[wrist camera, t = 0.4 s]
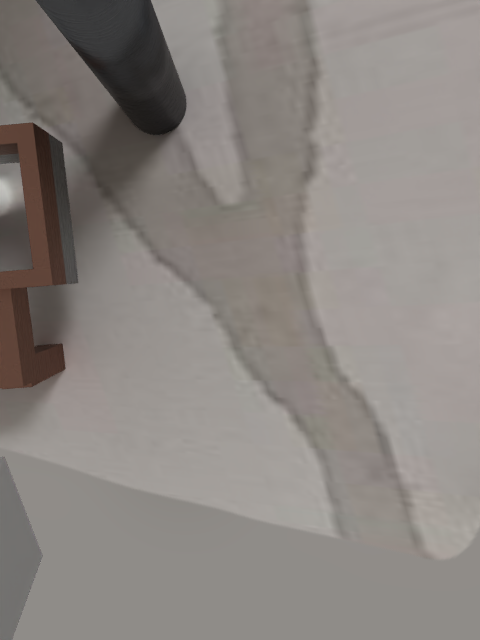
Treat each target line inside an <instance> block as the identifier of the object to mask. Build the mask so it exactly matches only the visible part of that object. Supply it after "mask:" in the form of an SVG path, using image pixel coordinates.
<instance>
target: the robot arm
mask: <svg viewBox="0 0 480 640" xmlns="http://www.w3.org/2000/svg"><path fill="white" fill-rule="evenodd" d="M42 556H43V555H42V552H41V550H40V547H39V545H38V542H37V539H36V537H35V534H34V532H33V529H32V526H31V524H30V521H29V519H28V516H27V513H26V511H25V508H24V506H23V503H22V501H21V498H20V495H19V493H18V490H17V488H16V485H15V482H14V480H13V477H12V475H11V472H10V470H9V467H8V464H7V462H6V459H5V457H0V640H12V639H13V636H14V633H15V630H16V628H17V625H18V622H19V619H20V617H21V614H22V611H23V608H24V606H25V602H26V600H27V597H28V595H29V592H30V589H31V586H32V583H33V581H34V578H35V575H36V573H37V570H38V567H39V565H40V562H41V559H42Z"/></svg>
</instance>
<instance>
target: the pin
mask: <svg viewBox="0 0 480 640" xmlns="http://www.w3.org/2000/svg"><path fill="white" fill-rule="evenodd" d="M36 1H37V3H38V4H39V5H40V6H41V8H42V9H43V10H44V11H45V13H46V14H47V15H48V16H49V18H50V19H51V20H52V21H53V23H54V24H55V25H56V26H57V28H58V29H59V30H60V32H61V33H62V34H63V35H64V37H65V38H66V39H67V40H68V42H69V43H70V44H71V45H72V47H73V48H74V49H75V50H76V52H77V53H78V54H79V55H80V57H81V58H82V59H83V61H84V62H85V63H86V64H87V66H88V67H89V68H90V69H91V71H92V72H93V73H94V74H95V76H96V77H97V78H98V79H99V81H100V82H101V83H102V84H103V86H104V87H105V88H106V89H107V91H108V92H109V93H110V95H111V96H112V97H113V98H114V100H115V101H116V102H117V103H118V105H119V106H120V107H121V108H122V110H123V111H124V112H125V113H126V115H127V116H128V117H129V118H130V120H131V121H132V122H133V124H134V125H135V126H136V127H137V128H139V129H140V130H142V131H143V132H146V133H148V134H153V135H160V134H165V133H168V132H170V131H172V130H173V129H175V128H176V127H177V126H178V125H179V124H180V122H181V121H182V119H183V117H184V115H185V111H186V96H185V92H184V89H183V87H182V84H181V81H180V79H179V76H178V73H177V70H176V68H175V65H174V62H173V60H172V57H171V54H170V51H169V49H168V46H167V43H166V41H165V38H164V35H163V32H162V30H161V27H160V24H159V22H158V19H157V16H156V13H155V11H154V8H153V5H152V3H151V0H36Z"/></svg>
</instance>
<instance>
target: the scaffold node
mask: <svg viewBox="0 0 480 640" xmlns="http://www.w3.org/2000/svg"><path fill="white" fill-rule="evenodd" d="M10 163H20V168H21V176H22V183H23V191H24V199H25V207H26V215H27V223H28V231H29V239H30V247H31V254H32V262H33V269H28V270H16V271H4V272H0V388H2V389H11V388H24V387H33V386H35V385H36V384H38V383H40V382H42V381H44V380H46V379H48V378H50V377H51V376H53V375H55V374H57V373H59V372H61V371H63V370H64V369H65V362H64V354H63V345H62V344H50V345H37V346H34V341H33V333H32V325H31V318H30V310H29V302H28V294H27V287H38V286H50V285H63V284H75V283H78V274H77V266H76V257H75V248H74V240H73V231H72V223H71V214H70V206H69V197H68V188H67V180H66V171H65V163H64V154H63V146H62V142H61V141H59V140H58V139H56V138H55V137H53V136H52V135H50V134H49V133H47V132H46V131H44V130H43V129H41V128H40V127H38V126H37V125H36V124H34V123H23V124H12V125H1V126H0V164H10Z"/></svg>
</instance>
